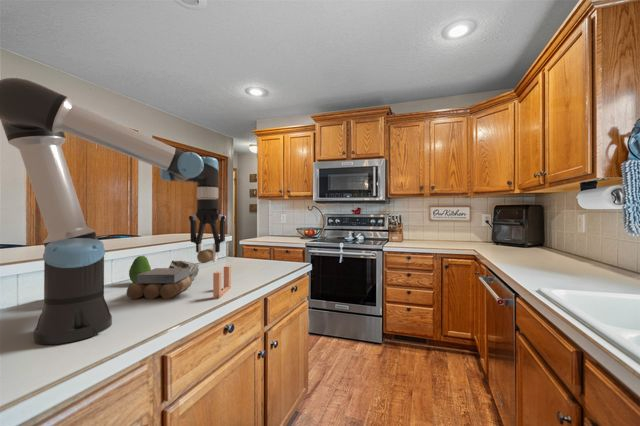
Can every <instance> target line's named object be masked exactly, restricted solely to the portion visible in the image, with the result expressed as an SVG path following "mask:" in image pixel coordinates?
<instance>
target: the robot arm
mask: <svg viewBox="0 0 640 426" xmlns="http://www.w3.org/2000/svg"><path fill="white" fill-rule="evenodd" d="M0 123H1V125H2V128H3V131H4V134H5V137H6V138H7V142H8V145H11V146H12V147H15V148H17V149H18V150H19V153H20V155H21V158H22V162H23V164H24V168H25V171H26V173H27V177H28V180H29V181H30V186H31V188H32V191H33V193H34V197H35V200H36V203H37V206H38V209H39V212H40V215H41V217H42V221H43V223H44V227H45V229H46V232H47V237H46V238H45V239H44V240H43V241H42V242H43V245H44V246H43V247H44V251H43V255H42V259H43V261H44V263H43V264H44V265H43V268H44V270H43V273H44V275H43V308H42V311H41V313H40V315H39V318H38V320H37V323H36V324H37V325H36V326H35V328H34V329H33V342H34V343H35V344H38V345H58V344H66V343H72V342H76V341H81V340H84V339H88V338H91V337H94V336H97V335H98V334H100V333H102V332H104V331H106V330H107V329H109V328H110V327H111V326H112V325H113V316H112V313H111V312H110V310H109V309H110V308H109V306H108V304H107V301H106V299H105V254H106V249H105V247H104V246H105V245H104V242H103V241H102V240H99V239H98V237H97V236H98V235H97V234H96V230H95V229H94V228H93V229H92V228H90V227H88V225H87V223H86V220H85V217H84V213H83V211H82V207H81V204H80V201H79V198H78V196H77V192H76V187H75V186H74V183H73V179H72V175H71V173H70V169H69V166H68V163H67V161H66V157H65V154H64V150H63V149H62V146H63V145H64V144H65V142H67V139H66V136H65V133H66V134H67V135H68V134H69V135H71V136H74V137H76V138H79V139H82V140H85V141H87V142H89V143H93V144H95V145H98V146H101V147H103V148H105V149H109V150H111V151H113V152H116V153H119V154H122V155H124V156H127V157H130V158H132V159H136V160H138V161H140V162H142V163H146V164H148V165H150V166H153V167H157V168H159V176H160V179H161V180H162V181H167V182H171V183H172V182H177V183H178V182H179V183H180V182H181V183H183V182H184V183H196V198H197V201H196V213H195V214H193V215H188V219H189V223H190V229H189V230H190V242H191V243H194V244H195V252H196V253H197V254H198V253H199V252H200V251H203V250H204V243H203V242H202V241H203V237H204V233H205V228H206V225H209V226H210V229H211V232H212V236H213V241H214V242H213V244H212V248H213V260H212V262H217V261H218V256H217V252H218V253H220V252H221V251H220V250H221V249H220V248H221V243H224V242H225V241H226V221H227V218H228V217H227V215H223V214H221V213H220V212H219V211H220V210H219V207H220V206H219V200H218V199H219V172H220V170H219V169H220V168H219V161H218V159H217V158H216V157H211V156H200V155H199V154H198V153H196V152H193V151H188V152H187V151H183V150H181V149H180V148H179V149H178V148H177V147H174V146H171V145H169V144H167V143H164V142H162V141H160V140H157V139H156V138H152V137H150V136H148V135H146V134H143V133H141V132H139V131H137V130H135V129H132V128H130V127H128V126H125V125H123V124H120V123H118V122H115V121H113V120H111V119H109V118H107V117H104V116H102V115H100V114H97V113H95V112H93V111H90V110H88V109H87V108H83V107H82V106H79V105H77V104H74V103H73V101H72V99H71V98H70V97H69V96H66V95H64V94H61V93H59V92H57V91H55V90H53V89H50V88H48V87H46V86H43V85H42V84H39V83H36V82H34V81H31V80H29V79H25V78H20V77H19V78H18V77H8V78H7V77H6V78H1V79H0ZM218 219H219V231H218V226H217V220H218ZM198 220H199V224H198V230H197V221H198Z"/></svg>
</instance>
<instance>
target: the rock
mask: <svg viewBox="0 0 640 426" xmlns="http://www.w3.org/2000/svg"><path fill="white" fill-rule="evenodd" d="M168 268H189V276H188V277H190V279H191V281H192V282H193V281H194V280H195V277H197V275H198V274H199V271H200V269H199V264H198V263H193V262H189V261H186V260H171V262H170V265H169V267H168Z"/></svg>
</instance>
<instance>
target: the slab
mask: <svg viewBox="0 0 640 426" xmlns="http://www.w3.org/2000/svg"><path fill="white" fill-rule="evenodd" d="M188 276H189V268H169V267H168V268H167V267H159V268H158V267H156V268H151V270H150V271H147V272H144V273H141V274H138V275H137V283H176V282H178V281H180V280H182V279H184V278H186V277H188Z"/></svg>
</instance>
